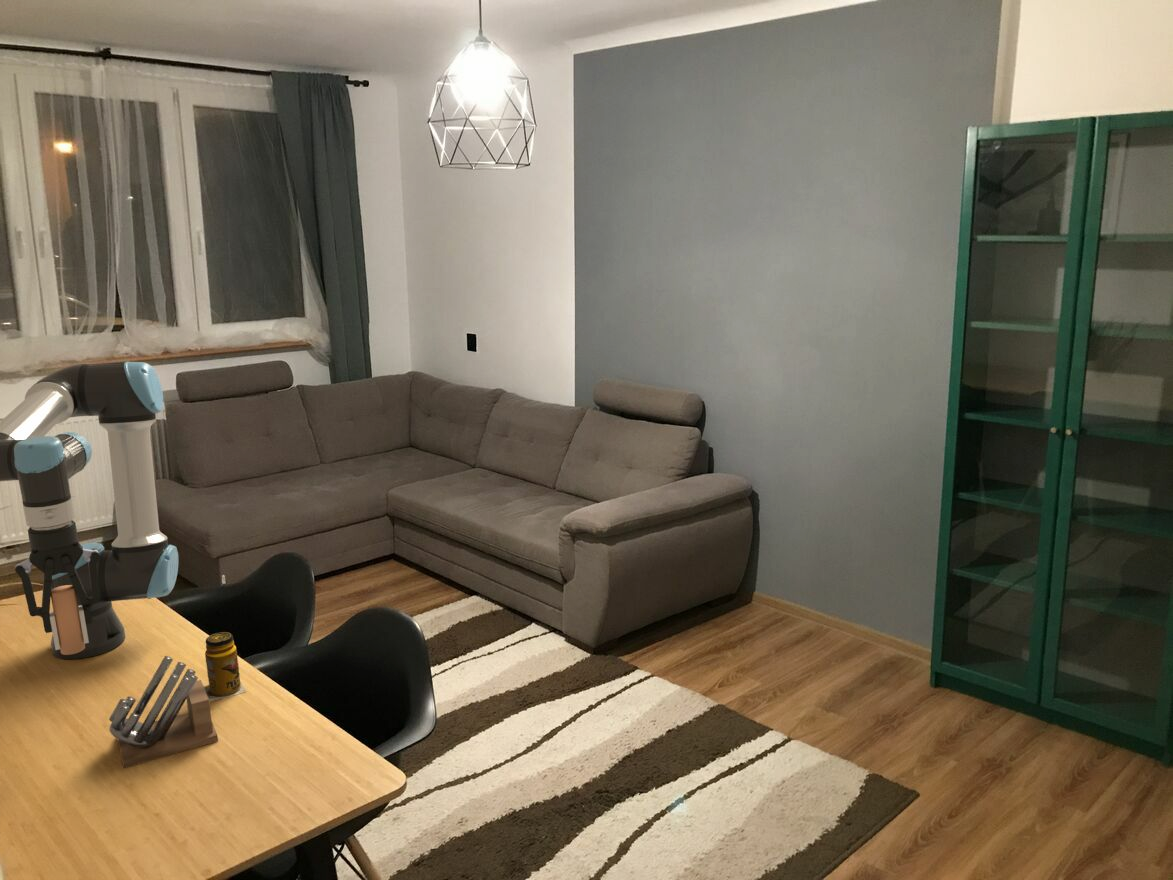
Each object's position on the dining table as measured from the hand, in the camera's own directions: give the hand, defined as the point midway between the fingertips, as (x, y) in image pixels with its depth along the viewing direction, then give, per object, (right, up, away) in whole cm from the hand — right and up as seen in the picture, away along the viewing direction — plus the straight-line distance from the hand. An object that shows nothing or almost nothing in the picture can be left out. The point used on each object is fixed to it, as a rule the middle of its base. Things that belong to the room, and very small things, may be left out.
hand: (71, 643), depth 172 cm
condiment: (+19, -15, +21) cm, 32 cm away
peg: (0, -1, 0) cm, 1 cm away
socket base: (+16, -19, +3) cm, 25 cm away
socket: (+15, -19, +2) cm, 24 cm away
